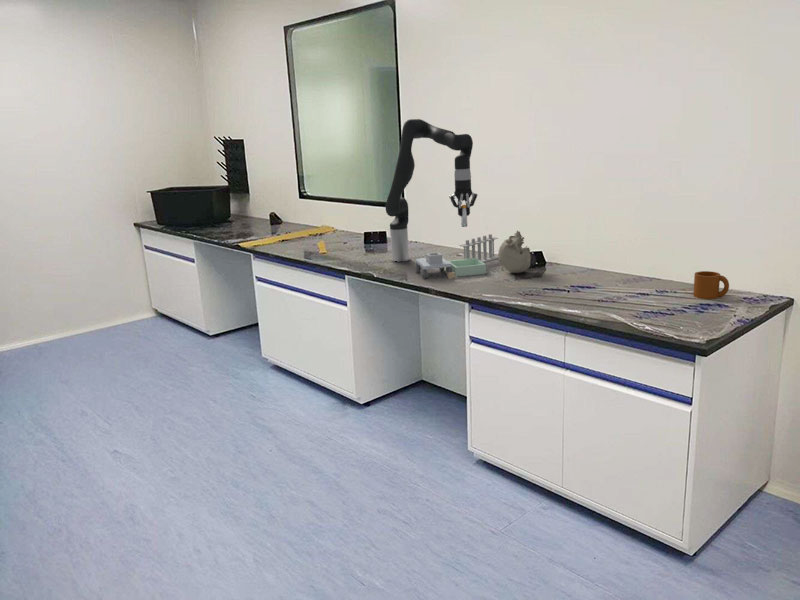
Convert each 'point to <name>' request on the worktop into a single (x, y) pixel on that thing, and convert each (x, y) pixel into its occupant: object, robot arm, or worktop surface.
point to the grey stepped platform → (433, 264)
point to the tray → (468, 267)
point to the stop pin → (464, 216)
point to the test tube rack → (478, 242)
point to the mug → (709, 285)
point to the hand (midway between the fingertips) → (464, 215)
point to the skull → (514, 254)
